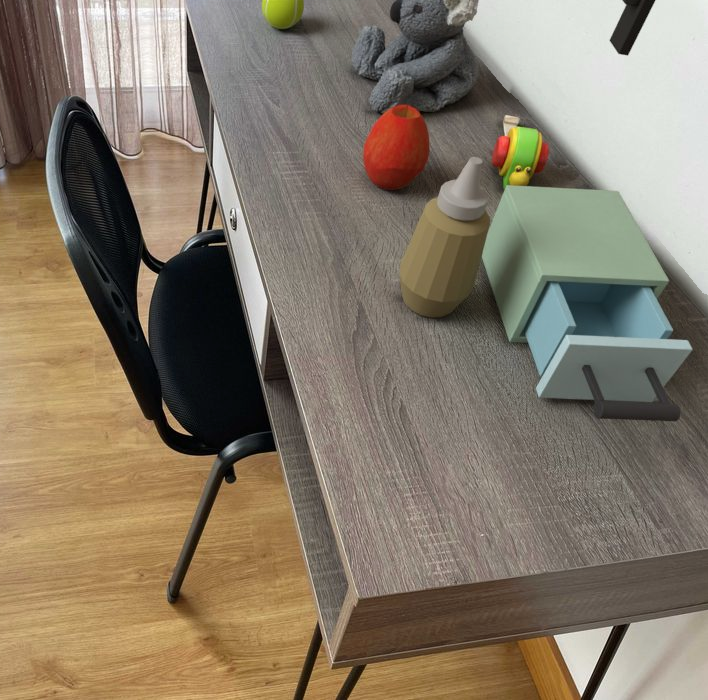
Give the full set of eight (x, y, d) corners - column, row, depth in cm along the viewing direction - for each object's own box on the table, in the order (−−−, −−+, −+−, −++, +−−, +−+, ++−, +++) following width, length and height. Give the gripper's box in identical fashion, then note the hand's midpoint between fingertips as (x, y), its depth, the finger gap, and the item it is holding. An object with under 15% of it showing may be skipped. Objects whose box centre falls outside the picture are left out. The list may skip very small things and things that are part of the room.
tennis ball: (257, 32, 122) (260, -11, 117) (263, 15, 127) (267, -28, 122) (298, 38, 122) (303, -5, 117) (303, 20, 127) (308, -22, 121)
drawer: (675, 451, 68) (721, 400, 62) (555, 447, 68) (589, 394, 62) (607, 305, 81) (639, 251, 75) (505, 301, 81) (530, 246, 75)
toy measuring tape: (487, 196, 95) (504, 152, 90) (488, 119, 108) (502, 77, 103) (537, 205, 95) (557, 161, 90) (532, 127, 107) (548, 85, 103)
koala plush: (344, 63, 117) (367, -71, 103) (450, 61, 120) (487, -70, 105) (374, 121, 106) (404, -20, 91) (490, 117, 109) (538, -21, 94)
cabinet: (625, 347, 78) (669, 280, 71) (509, 342, 78) (542, 274, 71) (583, 257, 88) (618, 190, 81) (479, 252, 87) (506, 184, 80)
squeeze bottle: (388, 273, 84) (427, 133, 71) (458, 278, 84) (510, 139, 71) (395, 323, 79) (438, 182, 65) (470, 328, 79) (529, 189, 65)
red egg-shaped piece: (431, 195, 95) (454, 120, 87) (373, 203, 93) (391, 128, 85) (403, 159, 100) (422, 85, 92) (347, 167, 98) (362, 92, 90)
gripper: (1062, -261, 46) (832, 67, 61) (676, -329, 46) (538, 18, 61) (1157, -247, 41) (879, 108, 56) (721, -324, 40) (558, 55, 55)
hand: (702, 62), depth 58 cm, fingers open, 13 cm apart
